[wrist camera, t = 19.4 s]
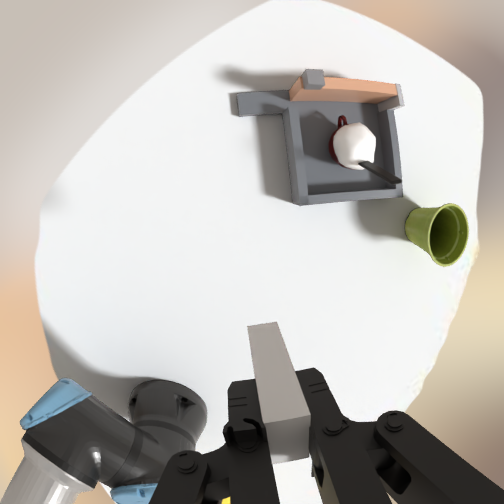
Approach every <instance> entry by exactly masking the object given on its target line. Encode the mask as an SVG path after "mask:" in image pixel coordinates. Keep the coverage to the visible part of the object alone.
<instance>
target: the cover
mask: <svg viewBox="0 0 504 504" xmlns="http://www.w3.org/2000/svg"><path fill="white" fill-rule="evenodd" d="M289 95H290V101H338V102H358V103H372V104H378V103H380V102H382V101H384V100H387V99H389V98H391V97H393V96H396V95H397V90H396V86H395V84H390V83H384V82H376V81H368V80H359V79H347V78H333V77H324V75H323V70H315V69H306V70H305V71H304V73H303V74H302V77H299V78H298V79H297V81H296V82H295V83H294V85H293V86H292V87H291V89H290V90H289Z"/></svg>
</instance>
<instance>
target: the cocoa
mask: <svg viewBox="0 0 504 504" xmlns="http://www.w3.org/2000/svg"><path fill="white" fill-rule="evenodd" d="M342 120H343V125H342ZM328 146H329V153H330V155H331V157H332V159H333V160H334V161H335V162H336V163H337V164H339V165H340V166H341V167H344V168H348V169H352V170H356V169H357V170H363V169H366V170H368V171H370V172H371V173H373V174H375V175H376V176H378V177H380V178H381V179H383V180H385V181H386V182H388V183H389V184H391V185H395V184H399V183H401V182H402V180H401V179H400V178H398V177H396V176H395V175H393V174H391V173H389V172H388V171H386V170H384V169H382V168H381V167H379V166H377V165H375V164H373V162H374V152H375V147H376V137H375V136H374V135H373V134H372V132H371V131H370V130H369V129H368V128H367V127H366V126H365V125H363V124H361V123H354V124H347V119H346V117H345V116H344V115H341V116H339V117H338V129H337V130H336V131H335V132H333V134H332V135H331V138H330V140H329V143H328Z"/></svg>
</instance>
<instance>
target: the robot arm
mask: <svg viewBox="0 0 504 504" xmlns="http://www.w3.org/2000/svg"><path fill="white" fill-rule="evenodd" d="M247 327H248V334H249V341H250V348H251V355H252V361H253V368H254V374H255V379H250V380H242V381H234V382H232V383H231V385H230V387H229V388H228V417H229V421H228V422H227V424H226V425H225V426H224V429H223V435H224V438H225V441H226V443H225V444H224V445H223V446H222V447H220V448H219V449H217V450H215V451H212V452H209V453H206V454H201V453H199V452H196V451H195V446H196V442H197V441H198V439H199V437H200V435H201V433H202V431H203V430H204V428H205V426H206V422H207V408H206V405H205V403H204V401H203V400H202V399H201V398H200V397H199V395H197V394H196V393H195V392H194V391H192V390H191V389H189V388H187V387H185V386H183V385H180V384H177V383H174V382H170V381H163V380H154V381H148V382H144V383H142V384H140V385H138V386H137V387H136V388H135V389H134V390H133V392H132V394H131V397H130V399H129V404H128V409H129V419H130V422H129V421H127V420H126V419H124V418H123V417H122V416H120V415H119V414H117V413H116V412H114V411H113V410H112V409H110V408H109V407H108V406H106V405H105V404H103V403H102V402H101V401H100V400H98V399H97V398H96V397H94V396H93V395H92V393H91V392H88V391H87V390H85V389H84V388H83V387H81V386H80V385H79V384H77V383H76V382H75V381H74V380H72V379H70V378H62V379H60V380H59V381H57V382H56V383H55V384H54V385H53V386H52V387H51V388H50V389H49V390H48V391H47V392H46V393H45V394H44V395H43V396H42V397H41V398H40V399H39V400H38V402H37V403H36V404H35V405H34V406H33V407H32V408H31V409H30V410H29V411H28V413H27V414H26V415H25V416H24V417H23V418H22V419H21V420H20V425H21V426H22V429H24V430H26V433H25V434H24V436H23V438H22V439H21V442H22V446H23V449H24V454H25V456H24V458H23V460H22V462H21V463H20V465H19V467H18V469H17V471H16V472H15V475H14V476H13V478H12V480H11V482H10V484H9V486H8V488H7V490H6V492H5V494H4V496H3V498H2V500H1V502H0V504H74V502H75V500H76V498H77V496H78V494H79V493H81V492H86V491H93V490H94V488H95V486H96V484H97V482H98V481H99V482H101V483H103V484H105V485H107V486H109V487H110V488H112V490H111V491H110V493H111V497H112V499H113V500H114V501H115V502H116V503H117V504H222V501H223V499H225V498H228V497H230V504H280V502H279V497H278V491H277V486H276V481H275V476H274V471H273V466H272V464H277V463H283V462H289V461H294V460H299V459H304V458H308V457H309V452H310V455H311V458H312V472H311V475H312V477H314V476H315V479H316V483H317V486H318V489H319V492H320V496H321V499H322V502H323V504H392V502H391V500H390V498H389V496H388V494H389V495H390V496H391V497H392V498H393V499H394V500H395V501H396V502H397V503H398V504H504V490H503V489H502V488H500V487H499V486H498V485H496V484H495V483H494V482H492V481H491V480H489V479H488V478H487V477H486V476H484V475H483V474H482V473H481V472H479V471H478V470H477V469H475V468H474V467H473V466H471V465H470V464H469V463H467V462H466V461H465V460H464V459H462V458H461V457H460V456H459V455H457V454H456V453H455V452H454V451H452V450H451V449H450V448H449V447H447V446H446V445H445V444H444V443H442V442H441V441H440V440H439V439H437V438H436V437H435V436H433V435H432V434H431V433H430V432H429V431H427V430H426V429H425V428H424V427H422V426H421V425H420V424H419V423H418V422H416V421H415V420H414V419H413V418H411V417H410V416H409V415H408V414H406V413H404V412H401V411H388V412H386V413H383V414H382V415H381V416H380V417H379V418H378V420H377V421H374V422H355V421H351V420H349V418H347V417H345V416H343V414H342V413H341V411H340V409H339V407H338V405H337V403H336V401H335V399H334V397H333V395H332V393H331V391H330V390H329V387H328V385H327V383H326V381H325V379H324V376H323V374H322V373H321V372H319V371H318V370H317V369H315V368H309V369H305V370H300V371H295V370H294V368H293V365H292V362H291V359H290V357H289V354H288V351H287V348H286V346H285V343H284V340H283V338H282V335H281V332H280V329H279V327H278V324H277V322H272V323H266V324H259V325H252V326H247ZM387 493H388V494H387Z"/></svg>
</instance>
